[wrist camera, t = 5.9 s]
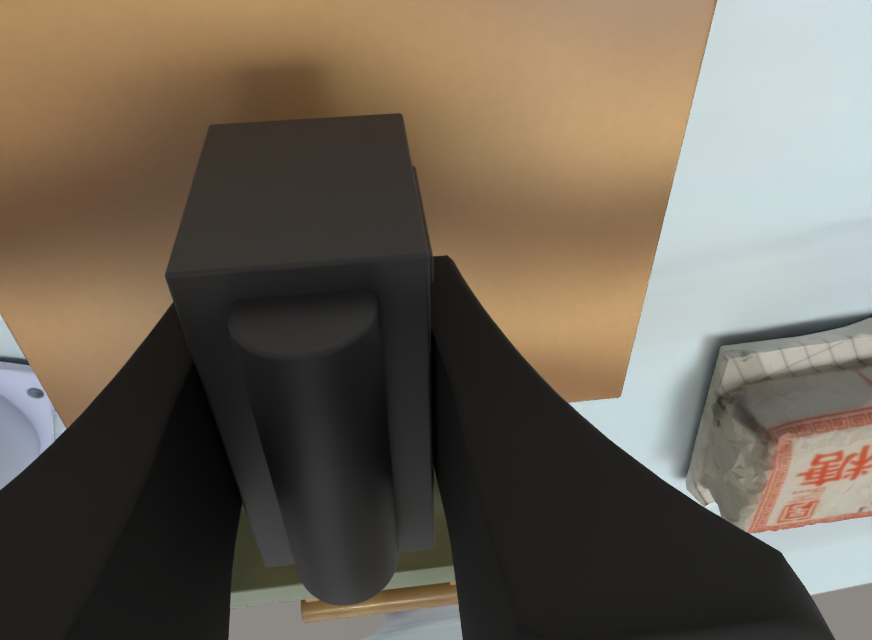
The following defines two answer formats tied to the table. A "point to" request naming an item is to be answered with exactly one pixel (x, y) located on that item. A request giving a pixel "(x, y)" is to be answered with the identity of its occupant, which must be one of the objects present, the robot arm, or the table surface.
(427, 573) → the drawer
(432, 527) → the clip
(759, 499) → the packaged product
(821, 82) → the table surface
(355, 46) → the cabinet
